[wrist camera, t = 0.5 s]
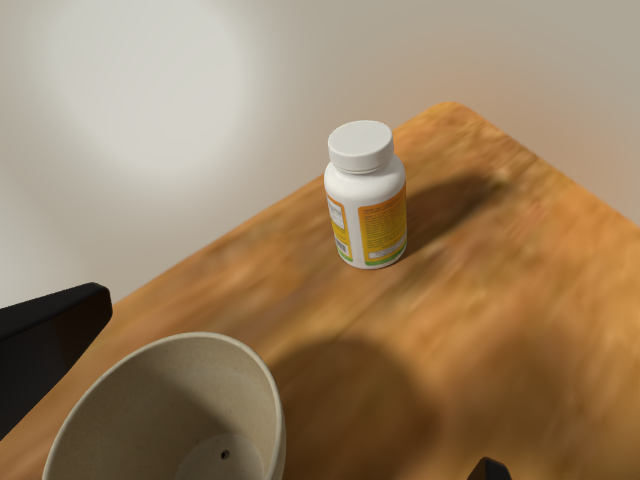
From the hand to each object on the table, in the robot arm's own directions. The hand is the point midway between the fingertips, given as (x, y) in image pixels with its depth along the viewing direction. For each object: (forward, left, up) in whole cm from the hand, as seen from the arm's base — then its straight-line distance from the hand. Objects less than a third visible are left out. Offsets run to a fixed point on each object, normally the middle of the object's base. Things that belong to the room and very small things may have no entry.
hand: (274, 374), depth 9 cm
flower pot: (0, +7, -15) cm, 17 cm away
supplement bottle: (+18, +2, -15) cm, 24 cm away
